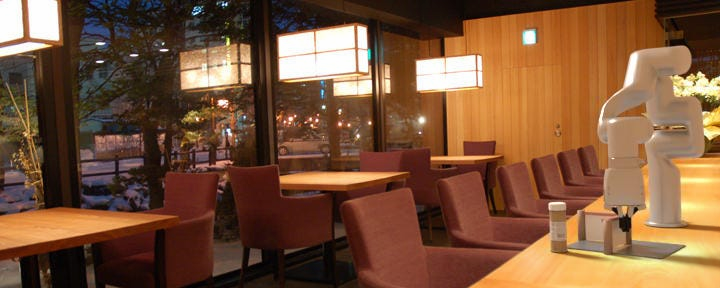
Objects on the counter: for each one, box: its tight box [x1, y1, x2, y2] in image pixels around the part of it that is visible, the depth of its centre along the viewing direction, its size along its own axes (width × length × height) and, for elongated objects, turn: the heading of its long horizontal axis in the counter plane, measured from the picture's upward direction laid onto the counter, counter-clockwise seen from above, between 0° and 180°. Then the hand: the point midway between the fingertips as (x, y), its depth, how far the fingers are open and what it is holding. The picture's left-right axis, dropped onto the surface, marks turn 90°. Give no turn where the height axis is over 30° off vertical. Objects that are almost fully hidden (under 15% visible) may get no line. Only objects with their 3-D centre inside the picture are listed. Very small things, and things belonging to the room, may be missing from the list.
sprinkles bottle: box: [548, 201, 568, 254], centre depth 167 cm, size 5×5×14 cm
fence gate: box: [601, 215, 626, 249], centre depth 167 cm, size 10×2×8 cm, turn 128°
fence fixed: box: [576, 209, 633, 256], centre depth 171 cm, size 16×15×9 cm
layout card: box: [567, 239, 686, 260], centre depth 169 cm, size 20×26×1 cm
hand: (625, 231), depth 165 cm, fingers closed
